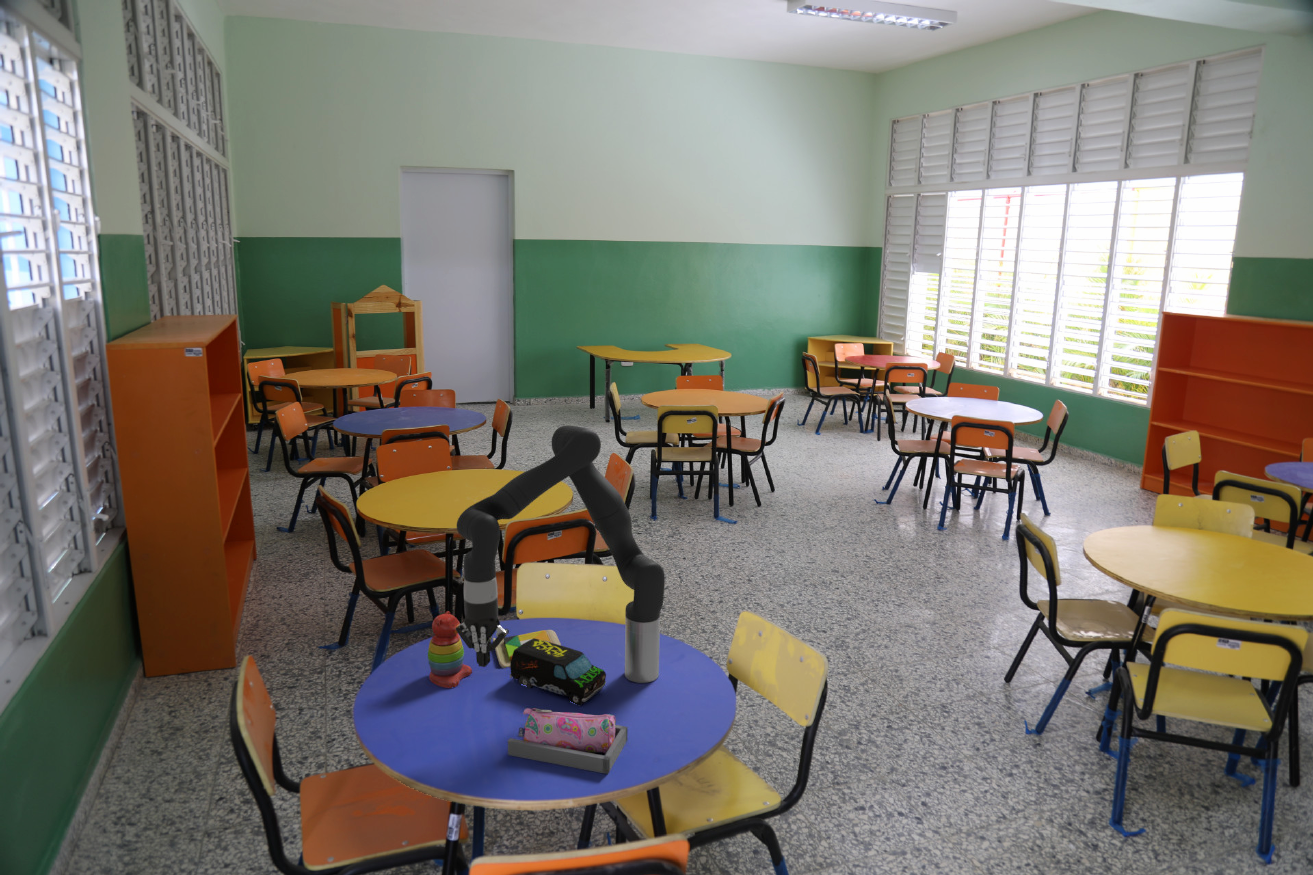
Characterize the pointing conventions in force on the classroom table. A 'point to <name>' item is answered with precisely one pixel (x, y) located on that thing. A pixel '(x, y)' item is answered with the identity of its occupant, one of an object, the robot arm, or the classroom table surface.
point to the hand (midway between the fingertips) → (483, 665)
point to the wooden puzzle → (513, 642)
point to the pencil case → (569, 730)
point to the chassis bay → (571, 753)
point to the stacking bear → (446, 653)
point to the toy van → (556, 670)
